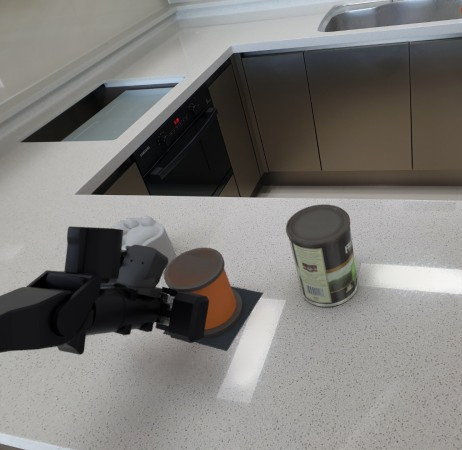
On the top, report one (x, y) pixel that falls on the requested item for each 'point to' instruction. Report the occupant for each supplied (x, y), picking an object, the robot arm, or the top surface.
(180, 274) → the spool
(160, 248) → the lumpy-topped squat cylinder
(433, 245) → the top surface
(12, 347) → the robot arm
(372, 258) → the top surface
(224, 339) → the mat
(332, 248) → the coffee can
